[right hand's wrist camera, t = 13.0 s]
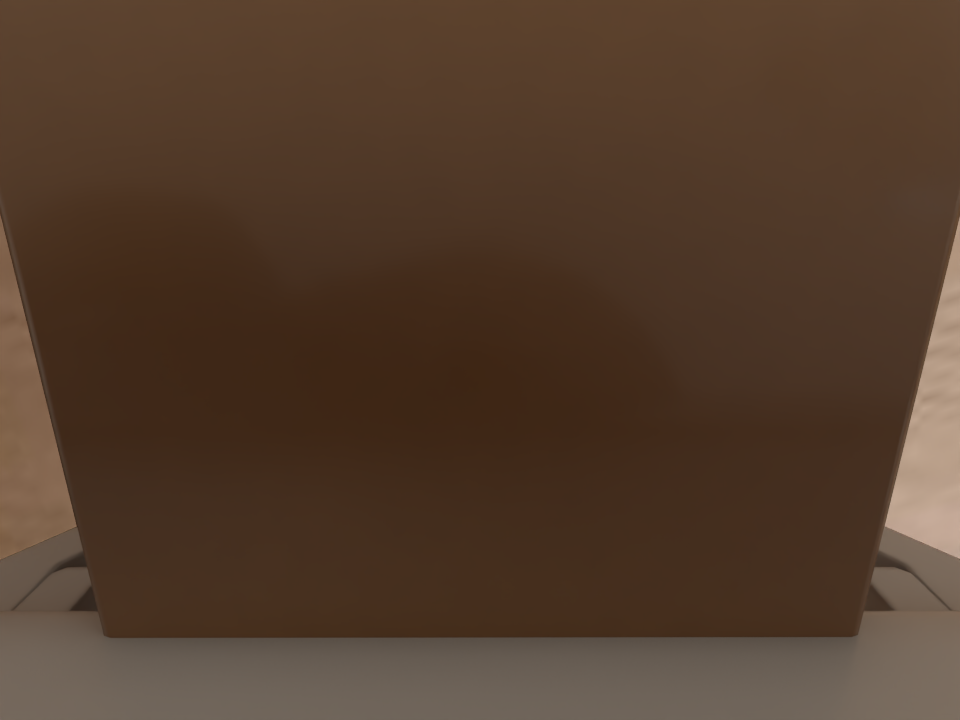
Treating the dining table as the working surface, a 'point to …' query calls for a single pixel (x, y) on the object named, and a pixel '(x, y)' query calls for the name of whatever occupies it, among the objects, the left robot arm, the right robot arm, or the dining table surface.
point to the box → (480, 305)
